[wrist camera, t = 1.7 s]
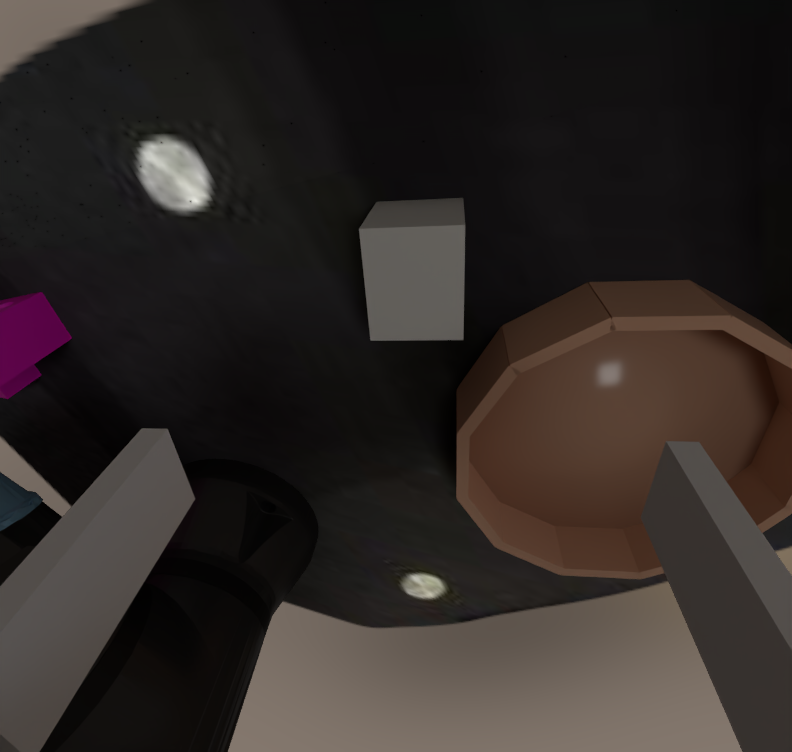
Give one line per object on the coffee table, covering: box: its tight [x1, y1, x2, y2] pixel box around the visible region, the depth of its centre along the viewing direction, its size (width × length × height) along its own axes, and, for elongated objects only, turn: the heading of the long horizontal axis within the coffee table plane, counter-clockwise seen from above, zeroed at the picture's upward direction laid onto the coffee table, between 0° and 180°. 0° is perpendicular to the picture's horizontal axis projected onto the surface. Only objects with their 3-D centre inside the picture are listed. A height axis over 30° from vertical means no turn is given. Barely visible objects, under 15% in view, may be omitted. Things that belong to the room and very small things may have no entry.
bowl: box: [456, 280, 792, 579], centre depth 31 cm, size 22×22×5 cm
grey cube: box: [359, 198, 465, 341], centre depth 26 cm, size 5×6×6 cm
